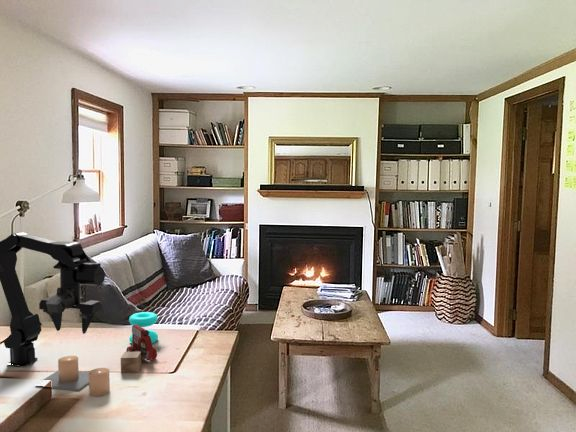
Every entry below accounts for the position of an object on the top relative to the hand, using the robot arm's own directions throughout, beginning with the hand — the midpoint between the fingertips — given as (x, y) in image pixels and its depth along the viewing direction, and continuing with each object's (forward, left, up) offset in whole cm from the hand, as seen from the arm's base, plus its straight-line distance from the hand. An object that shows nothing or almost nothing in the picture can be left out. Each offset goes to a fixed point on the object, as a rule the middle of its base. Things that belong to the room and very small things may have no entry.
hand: (71, 331), depth 151 cm
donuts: (+11, +26, -12) cm, 31 cm away
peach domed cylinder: (+5, -8, -11) cm, 15 cm away
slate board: (+5, -9, -12) cm, 15 cm away
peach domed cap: (+18, -14, -12) cm, 25 cm away
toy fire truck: (+18, +11, -12) cm, 24 cm away
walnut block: (+19, +2, -12) cm, 22 cm away
